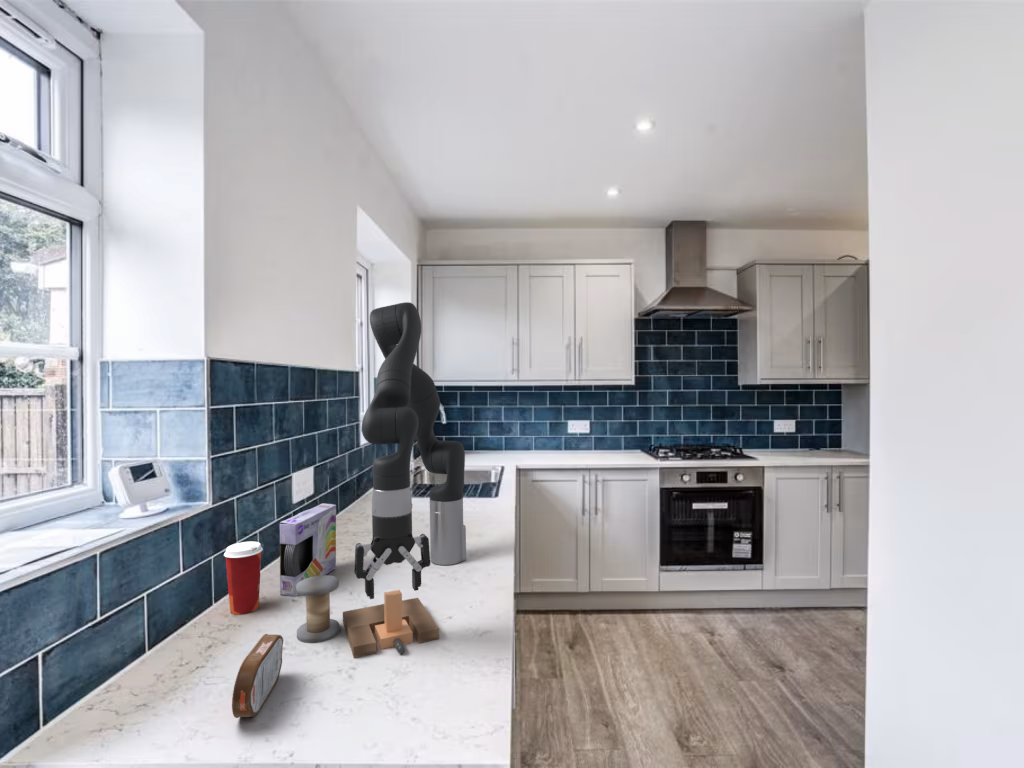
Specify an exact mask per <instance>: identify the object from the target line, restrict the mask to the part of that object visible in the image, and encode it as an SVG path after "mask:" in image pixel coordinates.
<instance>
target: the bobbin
mask: <svg viewBox="0 0 1024 768" xmlns="http://www.w3.org/2000/svg"><path fill="white" fill-rule="evenodd" d="M339 586H340V580H339V578H338V577H337V576H336V575H335V576H334V575H328V574H327V575H321V576H314V577H310V578H306V579H304V580H301V581H300V582H298V583H297V585H296V592H297V594H299V595H300V596H303V597H304V596H305V609H306V610H305V614H306V617H305V621H306V622H305V623H303V624H301V625H300V626H299V627H298V628H297V629H296V639H297V640H298V641H299V642H302V643H307V644H314V643H315V644H316V643H321V642H325V641H327V640H331V639H332V638H334V637H335V636H337V635H338V634H339V632H340V630H341V629H340V622H339V621H338V620H337V619H333V618H331V607H330V606H331V605H330V604H331V602H330V598H331V597H330V593H333V592H334V591H336V590H337V589H338V588H339ZM299 595H298V596H299Z"/></svg>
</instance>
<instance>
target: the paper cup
mask: <svg viewBox="0 0 1024 768" xmlns="http://www.w3.org/2000/svg"><path fill="white" fill-rule="evenodd" d="M263 551H264V549H263V547H262V545H261V543H260V542H258V541H242V542H241V541H240V542H238V543H233V544H231V545H229V546H227V547H226V549H225V552H224V553H223V557H225V566H226V567H225V568H226V578H227V590H228V602H229V610H230V614H232V615H239V616H240V615H244V614H245V615H246V614H250V613H253V612H255V611H256V610H257V609H258V608H259V604H260V603H259V602H260V587H261V586H260V585H261V570H262V569H261V567H262V564H261V563H262V552H263Z"/></svg>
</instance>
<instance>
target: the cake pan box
mask: <svg viewBox="0 0 1024 768" xmlns="http://www.w3.org/2000/svg"><path fill="white" fill-rule="evenodd" d="M336 568H337V505H336V504H333V503H320V504H318V505H316V506H314V507H312V508H310V509H306V510H303V511H302V512H299V513H297V514H296V515H294V516H291V517H289V518H287V519H285V520H281V521H280V522H279V585H280V586H279V587H280V588H279V595H280V596H288V597H298V596H299V594H297V592H296V585H297V583H298V582H300V581H301V580H304V579H306V578H310V577H314V576H321V575H328V574H330V572H332V571H334V570H335V569H336Z"/></svg>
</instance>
